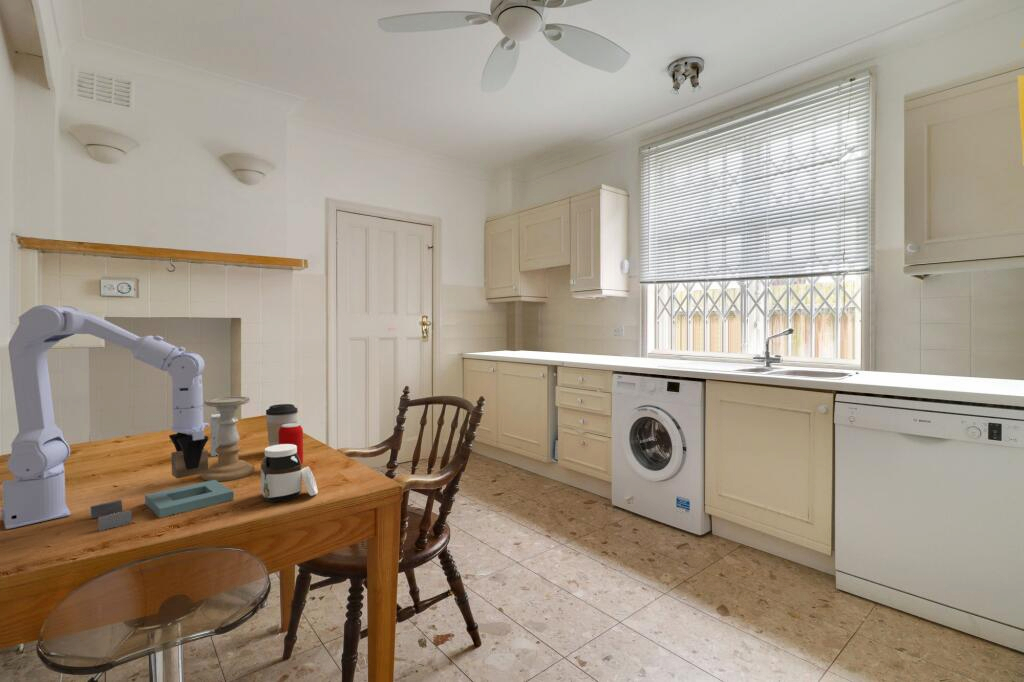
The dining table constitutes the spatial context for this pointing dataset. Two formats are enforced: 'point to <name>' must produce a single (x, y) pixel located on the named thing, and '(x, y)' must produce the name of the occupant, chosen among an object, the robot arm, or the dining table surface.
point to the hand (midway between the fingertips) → (189, 466)
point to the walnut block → (180, 467)
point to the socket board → (188, 498)
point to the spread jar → (284, 474)
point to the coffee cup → (279, 420)
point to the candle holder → (227, 442)
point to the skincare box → (214, 433)
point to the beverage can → (292, 437)
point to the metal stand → (110, 520)
